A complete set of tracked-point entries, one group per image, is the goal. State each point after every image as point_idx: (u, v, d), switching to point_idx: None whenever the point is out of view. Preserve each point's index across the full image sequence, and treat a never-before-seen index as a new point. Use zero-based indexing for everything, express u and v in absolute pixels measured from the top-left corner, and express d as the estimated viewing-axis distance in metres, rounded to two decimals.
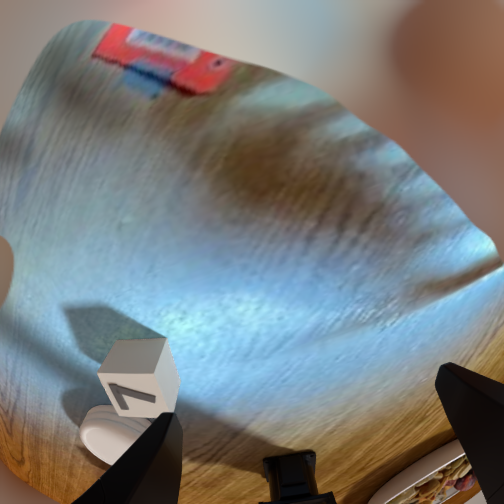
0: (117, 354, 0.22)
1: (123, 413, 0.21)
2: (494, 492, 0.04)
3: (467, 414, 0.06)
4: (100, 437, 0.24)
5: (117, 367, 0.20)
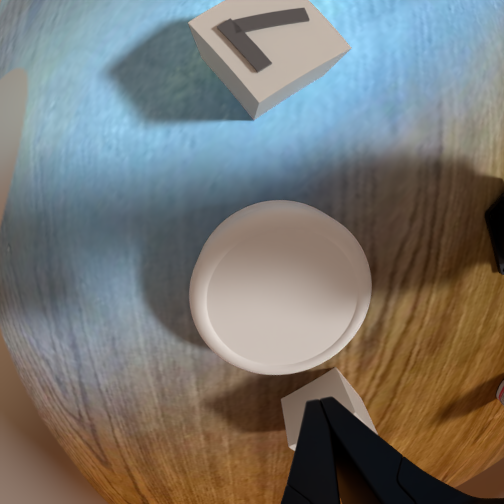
0: None
1: (266, 87, 0.10)
2: None
3: (336, 461, 0.06)
4: (238, 285, 0.15)
5: None
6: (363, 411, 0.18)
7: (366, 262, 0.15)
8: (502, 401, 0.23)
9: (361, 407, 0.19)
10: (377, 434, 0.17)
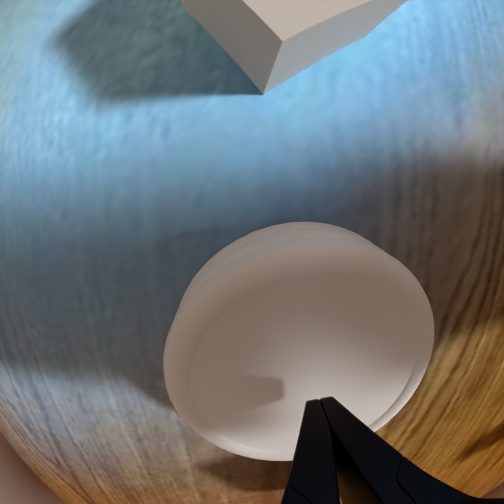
0: None
1: (295, 14, 0.04)
2: None
3: (336, 461, 0.06)
4: (239, 365, 0.09)
5: None
6: None
7: (432, 320, 0.09)
8: None
9: None
10: None
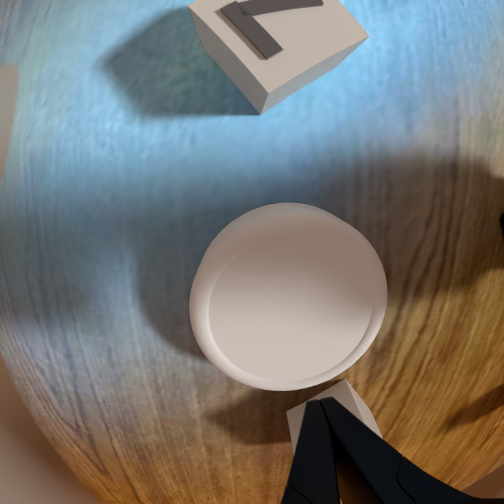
0: None
1: (276, 75, 0.09)
2: None
3: (336, 461, 0.06)
4: (243, 297, 0.13)
5: None
6: (372, 424, 0.17)
7: (382, 271, 0.13)
8: None
9: (370, 420, 0.17)
10: None
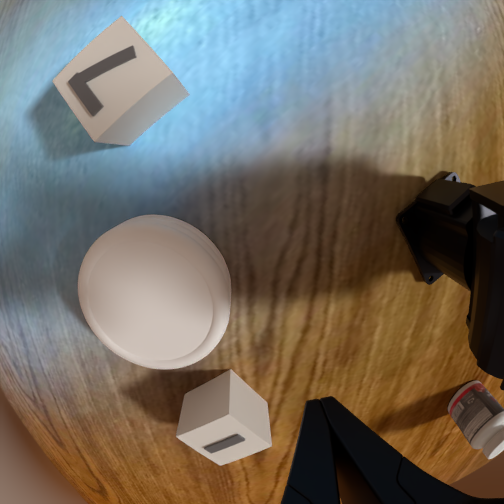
0: None
1: (99, 127, 0.12)
2: None
3: (336, 461, 0.06)
4: (108, 288, 0.16)
5: None
6: (256, 415, 0.20)
7: (216, 271, 0.16)
8: (453, 417, 0.24)
9: (255, 411, 0.20)
10: (270, 440, 0.19)
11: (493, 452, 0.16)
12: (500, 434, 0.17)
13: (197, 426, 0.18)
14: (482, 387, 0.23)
